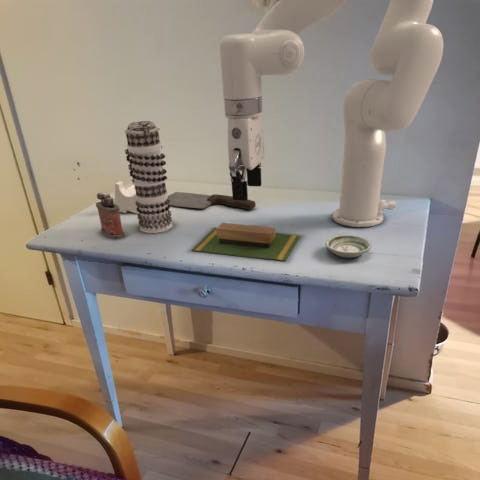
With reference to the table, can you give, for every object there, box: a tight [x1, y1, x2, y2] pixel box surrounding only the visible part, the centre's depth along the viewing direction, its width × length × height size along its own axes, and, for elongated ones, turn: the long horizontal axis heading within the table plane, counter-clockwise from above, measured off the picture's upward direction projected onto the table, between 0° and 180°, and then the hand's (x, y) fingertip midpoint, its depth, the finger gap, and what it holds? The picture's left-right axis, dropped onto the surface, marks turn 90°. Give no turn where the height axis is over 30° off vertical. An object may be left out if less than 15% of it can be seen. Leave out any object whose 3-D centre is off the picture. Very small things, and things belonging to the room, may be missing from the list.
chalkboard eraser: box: [216, 222, 276, 248], centre depth 104 cm, size 4×13×4 cm, turn 71°
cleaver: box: [168, 191, 257, 211], centre depth 129 cm, size 30×10×2 cm, turn 62°
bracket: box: [114, 180, 139, 215], centre depth 129 cm, size 13×7×8 cm, turn 167°
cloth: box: [191, 227, 301, 262], centre depth 105 cm, size 22×14×1 cm, turn 71°
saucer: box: [324, 234, 372, 259], centre depth 98 cm, size 10×10×2 cm
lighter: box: [95, 192, 125, 240], centre depth 111 cm, size 8×3×10 cm, turn 45°
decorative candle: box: [124, 120, 173, 234], centre depth 110 cm, size 9×9×25 cm
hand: (247, 192), depth 99 cm, fingers open, 9 cm apart
